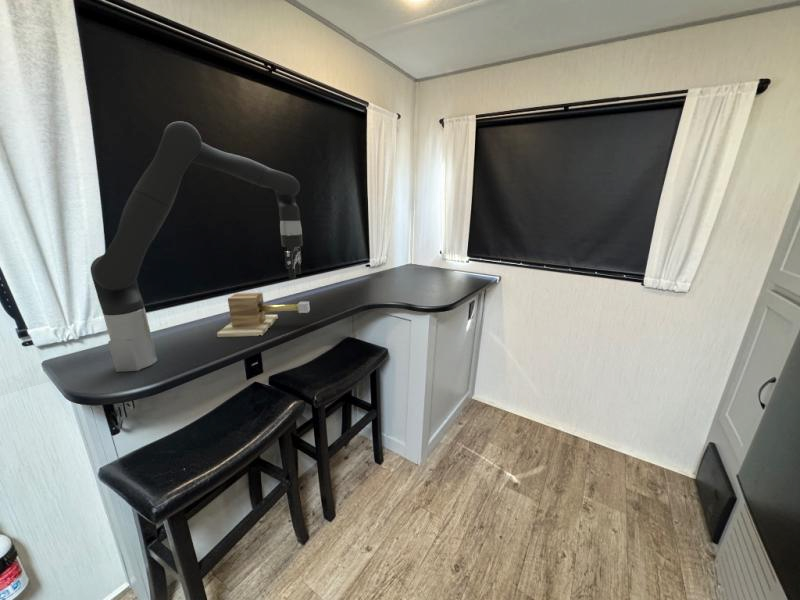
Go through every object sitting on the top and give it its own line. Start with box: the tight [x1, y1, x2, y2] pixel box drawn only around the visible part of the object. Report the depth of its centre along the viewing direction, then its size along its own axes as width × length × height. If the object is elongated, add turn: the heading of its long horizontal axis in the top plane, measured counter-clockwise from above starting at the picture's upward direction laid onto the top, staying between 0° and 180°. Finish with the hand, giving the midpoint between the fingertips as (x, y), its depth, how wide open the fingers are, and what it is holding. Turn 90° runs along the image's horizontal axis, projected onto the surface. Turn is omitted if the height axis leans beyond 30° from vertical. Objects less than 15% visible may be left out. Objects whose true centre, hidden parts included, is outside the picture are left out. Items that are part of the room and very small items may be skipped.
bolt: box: [258, 300, 311, 314], centre depth 126 cm, size 4×23×4 cm, turn 94°
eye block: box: [216, 292, 279, 338], centre depth 125 cm, size 20×16×13 cm
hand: (295, 276), depth 122 cm, fingers open, 8 cm apart
